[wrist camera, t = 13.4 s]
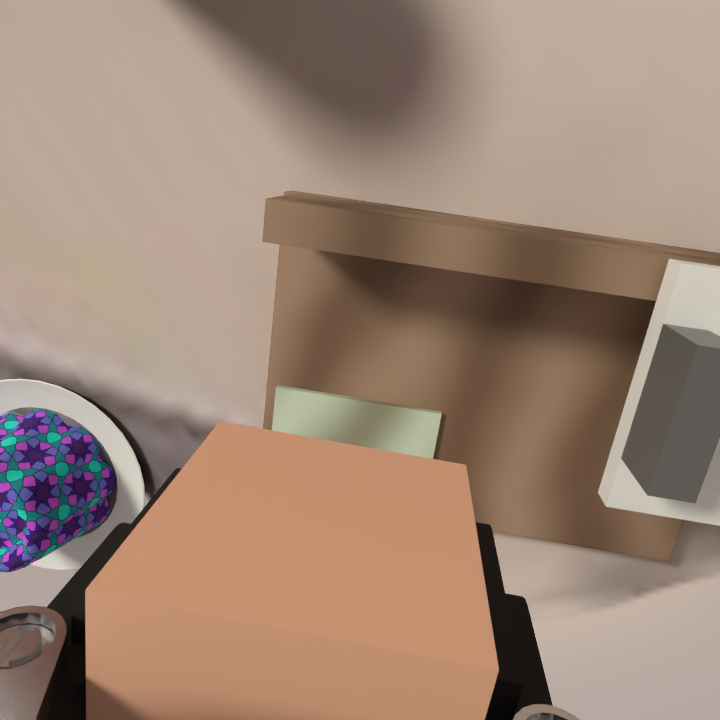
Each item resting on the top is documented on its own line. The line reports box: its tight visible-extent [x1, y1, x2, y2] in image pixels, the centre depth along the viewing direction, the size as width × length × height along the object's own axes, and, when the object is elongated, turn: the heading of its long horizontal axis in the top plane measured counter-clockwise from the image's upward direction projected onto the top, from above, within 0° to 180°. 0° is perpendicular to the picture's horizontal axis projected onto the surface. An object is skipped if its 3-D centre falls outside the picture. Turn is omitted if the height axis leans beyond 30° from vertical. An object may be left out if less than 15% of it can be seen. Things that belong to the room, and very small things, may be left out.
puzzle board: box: [262, 191, 720, 561], centre depth 25 cm, size 21×15×7 cm
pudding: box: [0, 379, 145, 572], centre depth 31 cm, size 12×12×5 cm
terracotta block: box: [85, 421, 499, 720], centre depth 10 cm, size 5×5×5 cm
